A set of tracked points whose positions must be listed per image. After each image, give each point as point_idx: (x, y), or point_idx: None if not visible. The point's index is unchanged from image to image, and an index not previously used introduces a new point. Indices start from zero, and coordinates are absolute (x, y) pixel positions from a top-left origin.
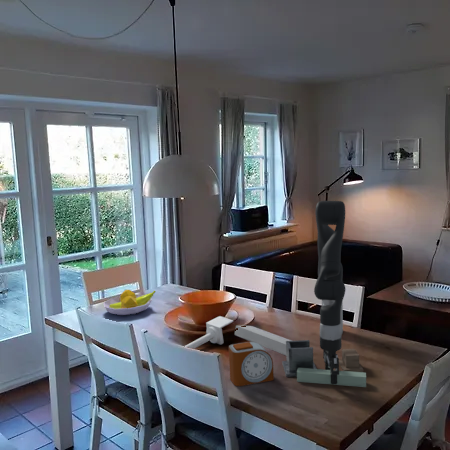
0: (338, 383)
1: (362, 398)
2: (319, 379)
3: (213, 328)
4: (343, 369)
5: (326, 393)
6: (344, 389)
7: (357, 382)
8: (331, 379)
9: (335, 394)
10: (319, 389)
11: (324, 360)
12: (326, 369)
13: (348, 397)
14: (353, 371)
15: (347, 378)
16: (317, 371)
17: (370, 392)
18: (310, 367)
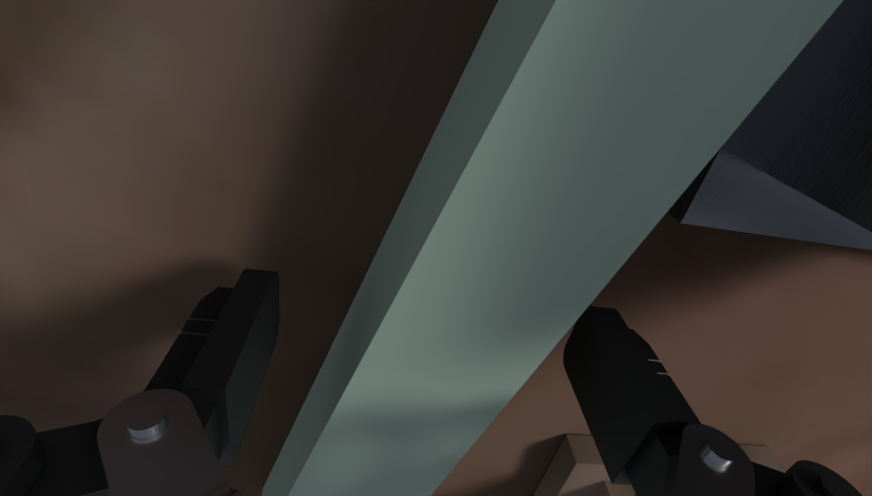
0: (338, 339)
1: (29, 420)
2: (436, 155)
3: None
4: None
5: (100, 118)
6: None
7: (273, 485)
8: (221, 318)
9: (83, 224)
10: (237, 57)
11: (727, 463)
12: (604, 348)
13: (24, 326)
14: (542, 491)
15: (293, 465)
16: (554, 200)
17: None
18: (848, 149)
